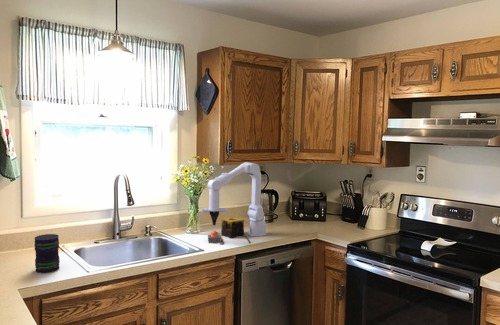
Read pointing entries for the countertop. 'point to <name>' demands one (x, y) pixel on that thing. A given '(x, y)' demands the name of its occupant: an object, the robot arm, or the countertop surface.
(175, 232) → the countertop surface
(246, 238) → the track
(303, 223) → the countertop surface
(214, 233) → the dome
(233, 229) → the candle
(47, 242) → the storage jar
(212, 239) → the button box
